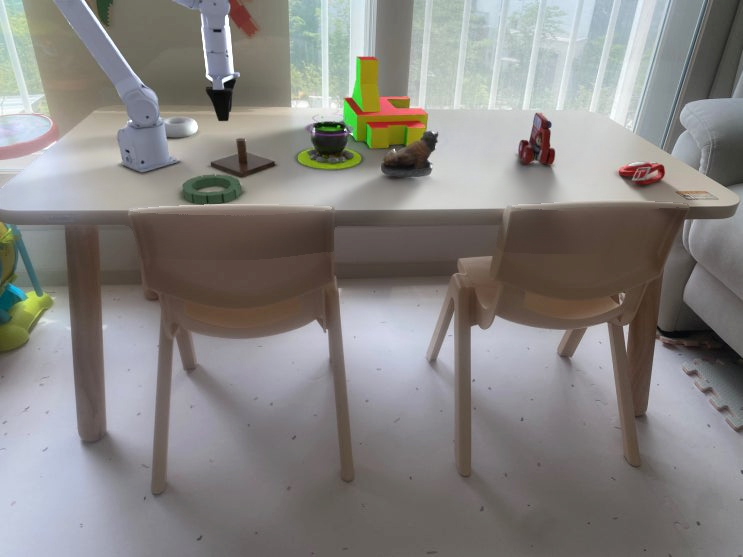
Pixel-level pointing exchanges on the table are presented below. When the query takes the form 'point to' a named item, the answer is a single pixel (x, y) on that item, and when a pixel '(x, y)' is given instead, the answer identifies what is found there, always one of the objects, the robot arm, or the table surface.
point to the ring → (211, 197)
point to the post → (242, 161)
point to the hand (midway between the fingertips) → (224, 116)
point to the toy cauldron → (329, 146)
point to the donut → (179, 127)
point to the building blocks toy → (380, 111)
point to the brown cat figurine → (411, 158)
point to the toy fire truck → (538, 142)
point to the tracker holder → (643, 171)
